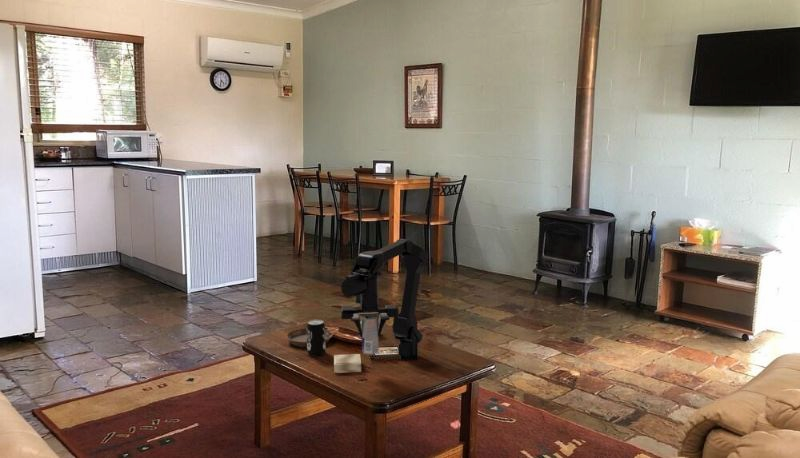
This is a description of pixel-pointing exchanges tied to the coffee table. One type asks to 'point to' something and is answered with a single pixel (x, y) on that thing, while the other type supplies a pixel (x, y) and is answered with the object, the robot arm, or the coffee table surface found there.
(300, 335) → the plant saucer
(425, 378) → the coffee table surface
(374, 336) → the energy drink
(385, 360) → the coffee table surface
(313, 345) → the beverage can
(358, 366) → the plinth
